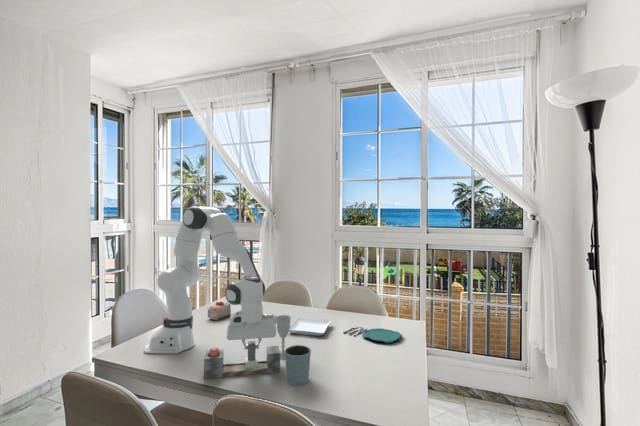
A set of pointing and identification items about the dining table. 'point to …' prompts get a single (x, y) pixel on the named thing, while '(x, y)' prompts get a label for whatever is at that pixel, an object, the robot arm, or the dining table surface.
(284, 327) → the chalice
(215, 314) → the food item
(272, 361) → the rail
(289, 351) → the blue-grey cup
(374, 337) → the cutlery set
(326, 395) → the dining table surface
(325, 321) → the salad plate
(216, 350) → the button
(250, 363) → the carriage
